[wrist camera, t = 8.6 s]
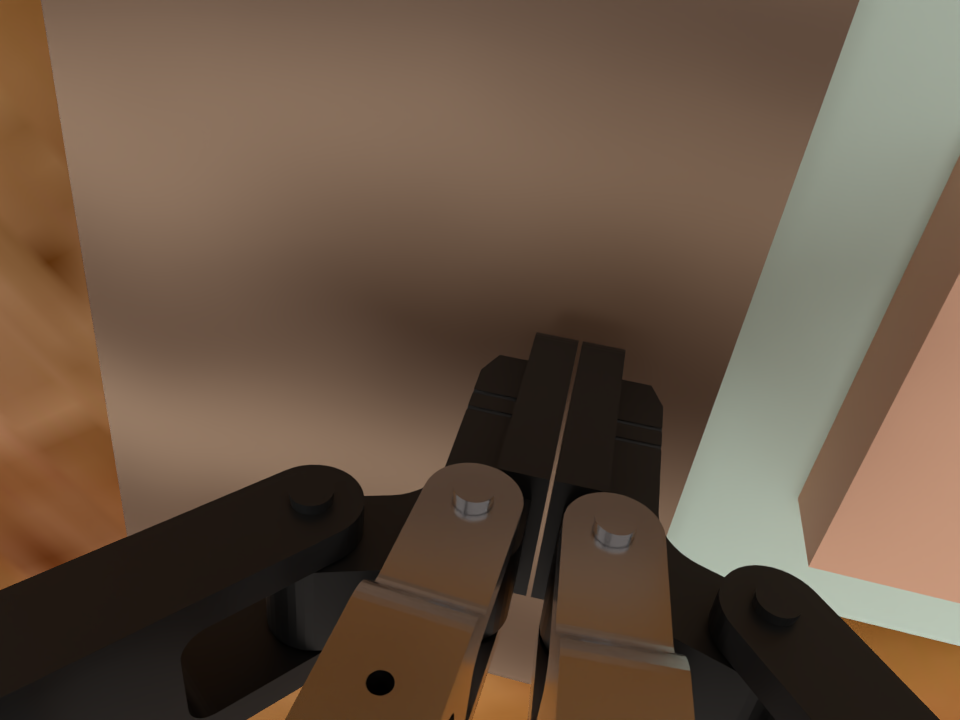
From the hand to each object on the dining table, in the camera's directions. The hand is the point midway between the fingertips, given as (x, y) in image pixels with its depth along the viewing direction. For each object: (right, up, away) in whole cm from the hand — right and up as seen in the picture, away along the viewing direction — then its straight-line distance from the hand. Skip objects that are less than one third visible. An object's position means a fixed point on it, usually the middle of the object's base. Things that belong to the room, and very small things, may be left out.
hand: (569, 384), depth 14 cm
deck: (-2, +3, +5) cm, 6 cm away
